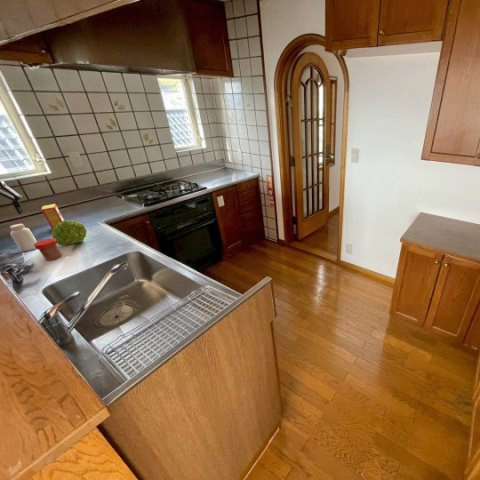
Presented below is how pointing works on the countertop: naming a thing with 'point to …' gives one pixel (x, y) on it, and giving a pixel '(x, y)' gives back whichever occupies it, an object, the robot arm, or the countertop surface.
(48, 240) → the cap
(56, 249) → the jar
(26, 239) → the pill bottle
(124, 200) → the countertop surface
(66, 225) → the lettuce
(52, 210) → the baking soda box
